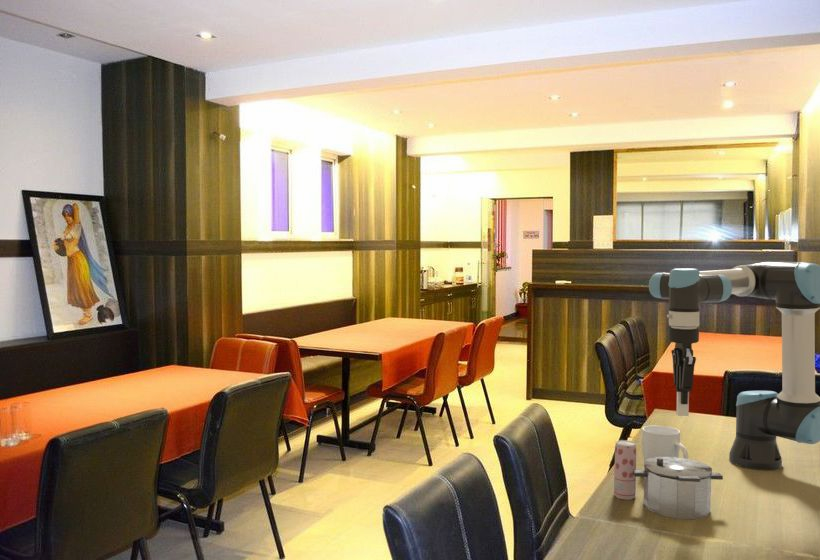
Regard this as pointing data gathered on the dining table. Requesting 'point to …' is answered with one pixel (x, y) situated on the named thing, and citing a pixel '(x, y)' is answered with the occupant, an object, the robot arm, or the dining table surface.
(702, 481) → the pot
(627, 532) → the dining table surface
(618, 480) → the beverage can
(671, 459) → the lid
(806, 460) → the dining table surface
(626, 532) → the dining table surface
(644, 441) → the mug
